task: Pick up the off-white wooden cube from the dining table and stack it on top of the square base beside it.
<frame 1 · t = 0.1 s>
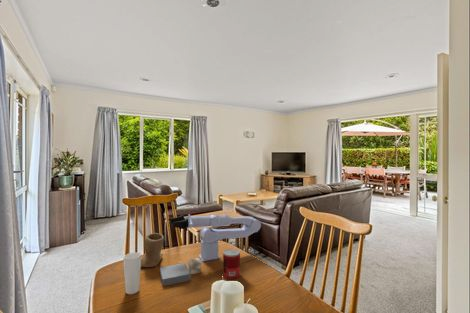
hand: (171, 222, 124), 22 cm above the table, tool horizontal, fingers open, 7 cm apart
stone cup: (153, 262, 126), on the table
cube: (194, 271, 117), on the table
canned food: (231, 275, 112), on the table
drinking glass: (132, 291, 99), on the table
base: (174, 276, 111), on the table
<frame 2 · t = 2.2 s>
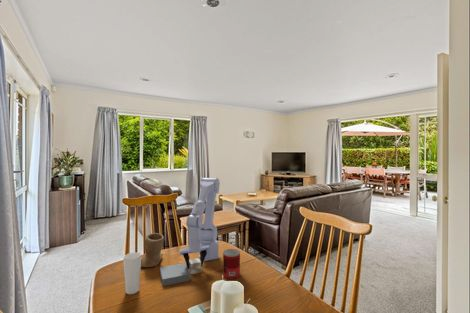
hand: (194, 267, 117), 2 cm above the table, tool pointing down, fingers open, 6 cm apart
nothing on the table moved.
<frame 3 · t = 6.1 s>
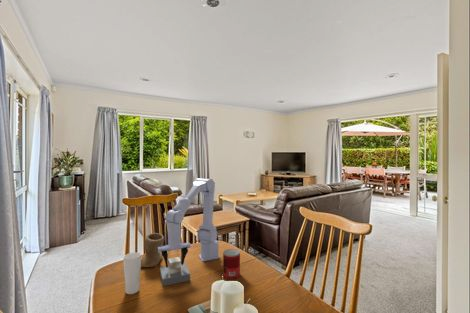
hand: (174, 265, 111), 5 cm above the table, tool pointing down, fingers open, 6 cm apart
cube: (174, 270, 111), point 3 cm above the table, touching base
everything else where it was.
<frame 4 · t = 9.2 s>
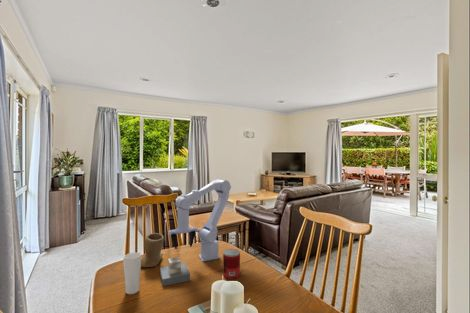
hand: (183, 247, 122), 9 cm above the table, tool pointing down, fingers open, 7 cm apart
nothing on the table moved.
at the end: cube 0.1 cm off-centre on the base, point 3.0 cm above the base's base; cube tilted 0°; the gripper is holding nothing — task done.
